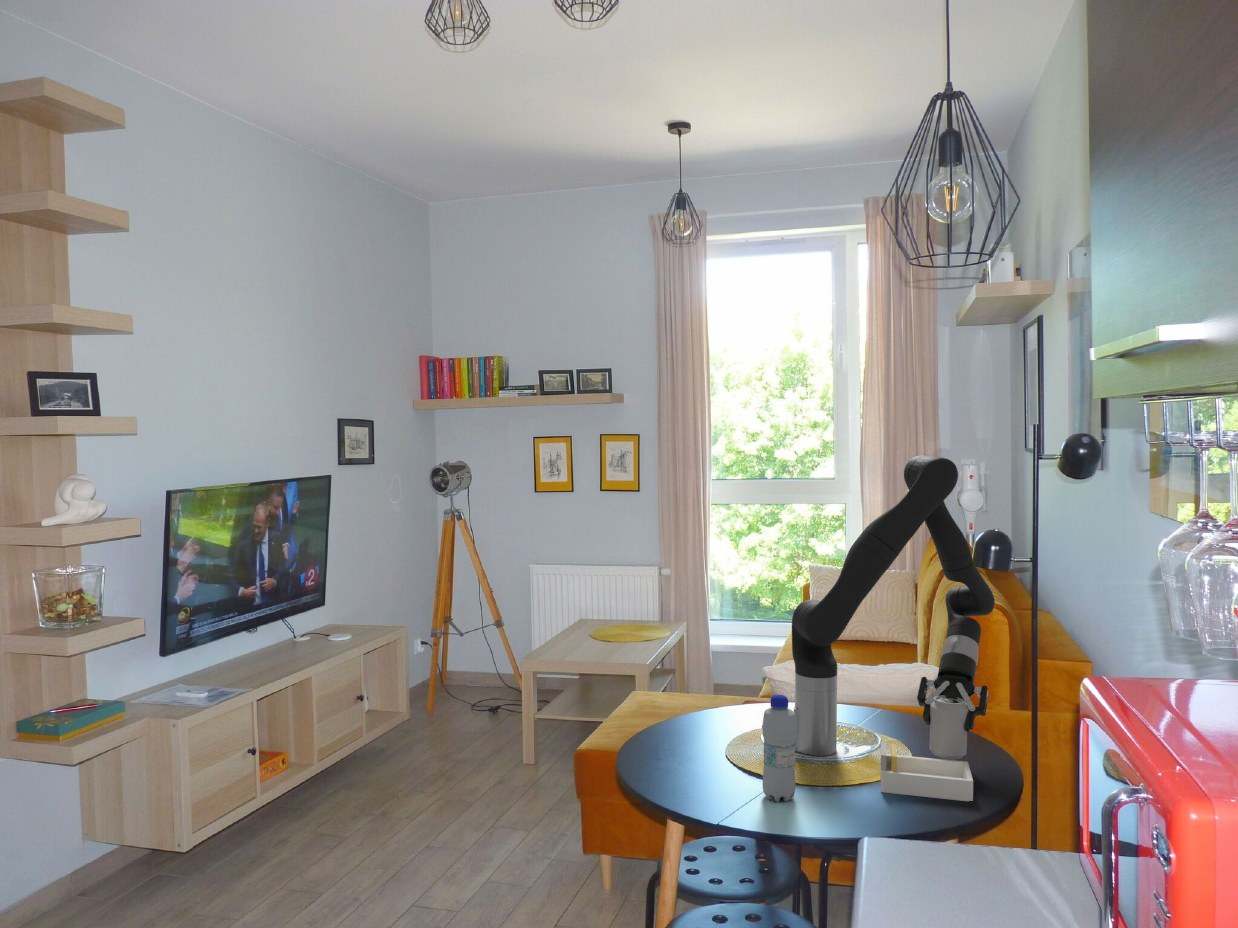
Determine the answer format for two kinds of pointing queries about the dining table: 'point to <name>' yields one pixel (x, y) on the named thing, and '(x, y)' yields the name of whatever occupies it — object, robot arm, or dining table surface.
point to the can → (948, 727)
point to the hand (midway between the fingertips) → (947, 726)
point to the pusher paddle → (893, 758)
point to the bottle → (779, 749)
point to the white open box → (926, 777)
